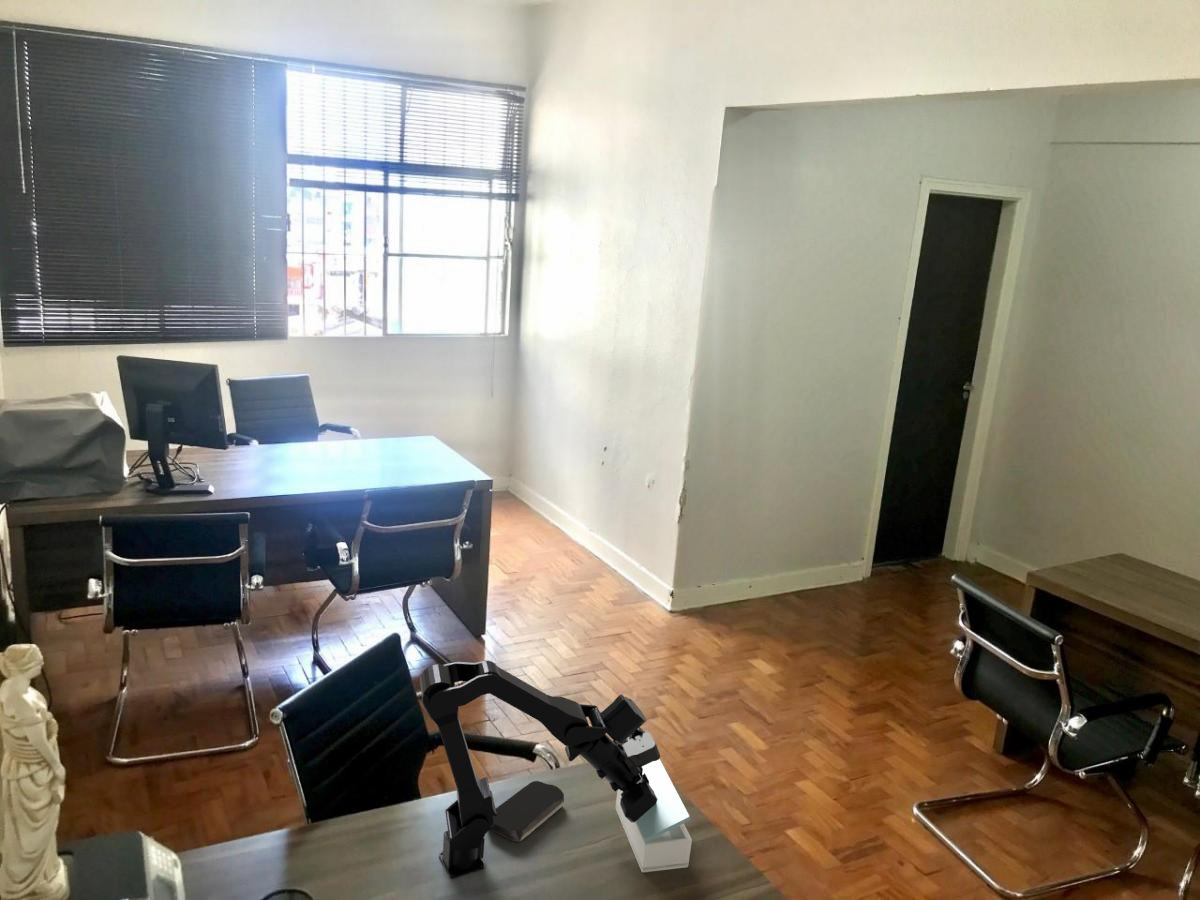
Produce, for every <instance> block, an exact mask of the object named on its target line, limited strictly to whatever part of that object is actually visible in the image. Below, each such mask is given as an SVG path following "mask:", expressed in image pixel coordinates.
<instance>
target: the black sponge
mask: <svg viewBox="0 0 1200 900" xmlns="http://www.w3.org/2000/svg"><path fill="white" fill-rule="evenodd" d="M564 802H565V793H564V792H563V790H562V789H561V788H559V787H558V786H556V785H554V784H548V783H545V782H542V781H539V780H534V781H531V782H530V783H528V784H527V785H525V786H524V787H522V789H520V790H518V791H517V792H516V793H514V794H513V795H512V796H511V797H509V798H508V799H506V800H505V801H504V802H502V803H501V804H500V805H499V806H497V807H495V809H496V813H497V816H493V817H494V825H493V827H492V828H491V829H490V830H489V831H490V832H493V833H497V834H499V835H502V836H503V837H505V838H506V839H508V840H509V841H511V842H521V841H523V840H524V839H526V837H528V836H529V835H531V833H532V832H534V831H535V829H536V830H537V828H538V827H540V826H541V825H542V824H543V823H544V822H546V821H547V820H548V819H550V817H552V816H553V815H554V814H555V813H556V812H558V811H559V810H560V809H561V808H562V807H563V805H564Z"/></svg>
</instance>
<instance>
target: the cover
mask: <svg viewBox="0 0 1200 900" xmlns="http://www.w3.org/2000/svg"><path fill="white" fill-rule="evenodd" d="M642 768H643V774H646V776H647V778H648V780H649V785H650V787H651V788H652V789H653V791H654V793H655V795H656V797H657V799H658V800H657V803H656V804H655V805H654V806H653V807H652V808H651V809H649V810H648V811H647V812H646V813H645V814H644V815H643V816H641V817H640V818H639V819H638V820H637V821H636V822H637V824H638V827H639V829H640V831H641V834H642V836H643V838H644V840H645V843H646V842H648V841H650V840H652V839H654V838H656V837H658V836H660V835H662V834H664V833H666V832H667V831H669V830H671V829H673V828H675V827H677V826H679V825H681V824H683V823H684V824H685V823H687V822H689V821H691V820H692V819H691V816H690V814H689V813H688V810H687V808H686V807H685V805H684V803H683V801H682V800H681V797H680V795H679V793H678V792H677V790H676V787H675V786H674V784H673V781H672V780H671V778H670V776H669V774H668V773H667V771H666V768H665V767H664V765H663V763H662V761H661V759H659V760H657V761H653V762H651V763H649V764H646V765H644V766H642ZM643 774H642V775H643Z"/></svg>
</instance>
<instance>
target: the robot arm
mask: <svg viewBox="0 0 1200 900" xmlns="http://www.w3.org/2000/svg"><path fill="white" fill-rule="evenodd" d="M419 682H420V683H419V684H420V694H421V702H422V705H423V707H424V708H425V710H426V713H427V714H428V716H429V718H430V719H431V721H432V722H433V723H434V724H435V726H436V727H437V728H438V732H439V735H440V737H441V740H442V743H443V747H444V751H445V753H446V757H447V760H448V764H449V766H450V769H451V770H450V771H451V773H452V777H453V780H454V783H455V785H456V787H455V788H456V798H457V799H456V800H455V801H454V802H453V803H452V804H450V806H448V807H446V809H445V811H444V813H445V820H446V827H447V830H446V831H444V832H443V842H442V851H441V852H439V853H438V856H439V859H440V861H441V863H442V865H443V867H444V868H445V870H446V872H447V874H448V876H449V878H451V879H456V878H459V877H461V876H465V875H468V874H471V873H473V872H478V871H481V870H483V869H485V866H486V865H485V863H484V862H483V860H482V859H483V858H484V857H485V842H486V841H485V840H486V839H485V836H486V834H487V833H488V832H489V831H491V830H490V829H491V828H492V827H493V825H494V817H493V816H497V813H496V806H495V805H496V804H495V802H494V795H493V791H492V790H491V789H490V784H489V780H488V776H485V777H482V778H481V779H480V778H479V777H478V775H477V774H476V771H475V769H474V765H473V761H472V758H471V757H472V756H471V755H470V750H469V747H468V744H467V740H466V738H465V733H464V732H463V728H462V727H463V726H462V725H461V721H460V717H459V716H460V715H459V707H463V706H466V705H468V704H469V703H471V702H472V701H474V700H477V699H478V698H479V697H481V696H485V695H491V696H493V697H495V698H497V699H499V700H500V701H502V702H504V703H506V704H508V705H510V706H512V707H513V708H515V709H517V710H518V711H520V712H522V713H524V714H526V715H528V716H529V717H530V718H533V719H535V720H537V721H538V722H539V723H541V725H543V726H544V727H545V728H546V729H547V731H548V732H549V733H550V735H551V736H553V737H554V738H555V739H556V740H558V741H559V742H560V743H561V744H562V745H564V746H565V748H564V751H565V753H566V757H567V759H568V761H569V762H573V761H574V760H575V759H577V757H578V756H580V757H582V758H583V759H585V761H586V762H588V763H589V764H590V765H591V766H592V767H593V769H595V771H596V774H597V776H598V777H599V778H600V780H603V779H605V780H606V781H608V782H609V785H610V787H611V789H612V791H614V792H616V793H617V791H618V789H619V790H621V791H623V793H622V794H621V796H622V798H621V801H620V806H621V808H622V810H623V813H624V815H625V817H626V818H627V819H628V820H629V821H630V822H636V821H637V820H638V819H639V818H640V817H641V816H643V815H644V814H645V813H646V812H647V811H648V810H649V809H651V808H652V807H653V806H654V805H655V804H656V803H657V800H658V799H657V797H656V795H655V793H654V791H653V789H652V788H651V787H650V785H649V780H648V778H647V776H646V774H643V768H642V766H644V765H646V764H649V763H651V762H653V761H657V760H659V759H660V758H661V754H660V751H659V748H658V746H657V743H656V740H655V739H654V737H653V735H652V734H651V732H650V731H648V730H647V729H644V730H643V729H642V728H641V726H642V725H644V724H645V723H646V722H647V721H648V720H647V718H646V717H645V714H644V713H643V711H642V710H641V709H640V708H639V706H638V705H637V704H636V703H635V701H633V699H631V698H629V697H628V696H624V695H623V694H621V693H620V694H619V695H618V696H617V697H616V698H615V699H614V700H613V702H611V703H610V704H609V705H607V706H606V708H604V710H602V711H600V709H599V707H598V706H597V705H592V704H580V703H579V702H577V701H575V700H572V699H569V698H566V697H563V696H553V695H550V694H546V693H545V692H543V691H541V690H539V689H538V688H536V687H535V686H532V685H531V684H530V683H527V682H526V681H525V680H522V679H520V678H519V677H517V676H515V675H513V674H512V673H509V672H508V671H507V670H504V669H503V668H501V667H500V666H498V665H497V664H496V663H495V662H493V661H491V660H482V661H481V660H480V661H478V662H477V661H476V662H467V661H466V662H464V661H455V662H449V663H445V664H439V663H437V664H432V665H430V666H428V667H426V668H425V669H424V670H423V671H422V673H421V674H420V677H419ZM457 682H465V683H462V684H461V685H457V686H456V683H457ZM588 720H589V721H588ZM660 760H661V759H660ZM642 774H643V775H642Z"/></svg>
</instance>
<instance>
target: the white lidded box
mask: <svg viewBox="0 0 1200 900" xmlns="http://www.w3.org/2000/svg"><path fill="white" fill-rule="evenodd" d="M622 793H623V791H621V790H619V789H618V790H617V791H616V799H615V800H616V801H615V810H616V813H617V815H618V818H619V820H620V822H621V826H622V827H623V830H624V832H625V835H626V838H627V839H628V842H629V844H630V847H631V849H632V852H633V854H634V857H635V859H636V862H637V864H638V867H639V868H640V870H641V873H650V872H659V871H665V870H667V871H669V870H674V869H675V870H676V869H684V868H689V864H690V863H689V862H690V855H691V850H692V842H693V840H692V838H691V835H690V833H689V831H688V829H687V828H686V825H685V823H683V824H681V825H679V826H677V827H675V828H673V829H671V830H669V831H667V832H666V833H664V834H662V835H660V836H658V837H656V838H654V839H652V840H650V841H648V842H646V843H645V840H644V838H643V836H642V834H641V831H640V829H639V827H638V824H637V822H630V821H629V820H628V819H627V818H626V817H625V815H624V813H623V810H622V808H621V806H620V801H621V798H622V796H621V794H622Z"/></svg>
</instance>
